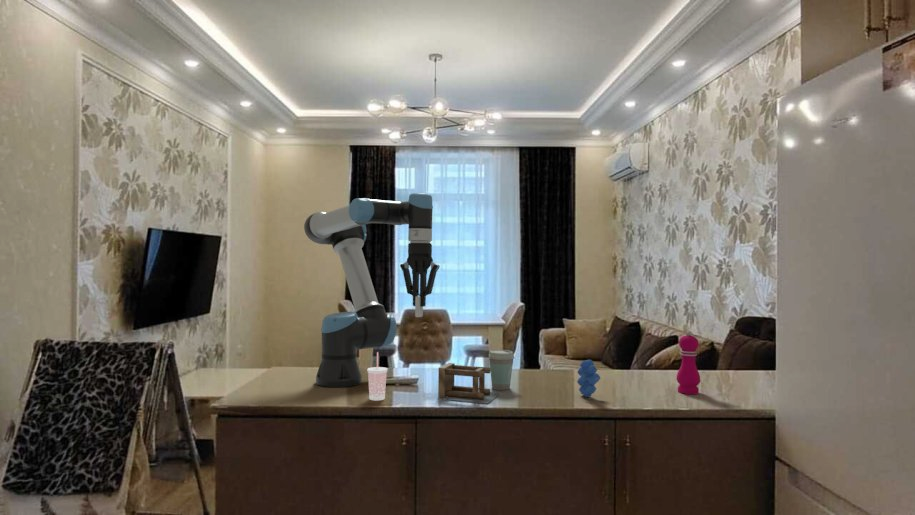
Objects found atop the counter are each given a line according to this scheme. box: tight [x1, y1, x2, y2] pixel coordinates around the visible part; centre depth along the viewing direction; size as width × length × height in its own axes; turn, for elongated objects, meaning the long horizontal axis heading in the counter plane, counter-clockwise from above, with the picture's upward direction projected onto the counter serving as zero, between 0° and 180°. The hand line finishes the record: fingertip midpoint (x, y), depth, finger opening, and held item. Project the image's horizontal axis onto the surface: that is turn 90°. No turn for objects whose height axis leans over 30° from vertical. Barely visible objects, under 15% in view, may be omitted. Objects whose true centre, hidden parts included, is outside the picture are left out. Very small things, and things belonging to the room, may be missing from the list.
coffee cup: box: [487, 349, 515, 391], centre depth 194 cm, size 9×8×12 cm
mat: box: [442, 391, 501, 405], centre depth 181 cm, size 14×14×1 cm
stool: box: [437, 362, 491, 400], centre depth 182 cm, size 9×9×14 cm
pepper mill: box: [675, 330, 701, 395], centre depth 191 cm, size 7×7×20 cm
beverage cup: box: [366, 351, 389, 401], centre depth 177 cm, size 6×6×14 cm
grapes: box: [576, 359, 601, 398], centre depth 182 cm, size 12×7×12 cm, turn 10°
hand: (419, 316), depth 187 cm, fingers closed
